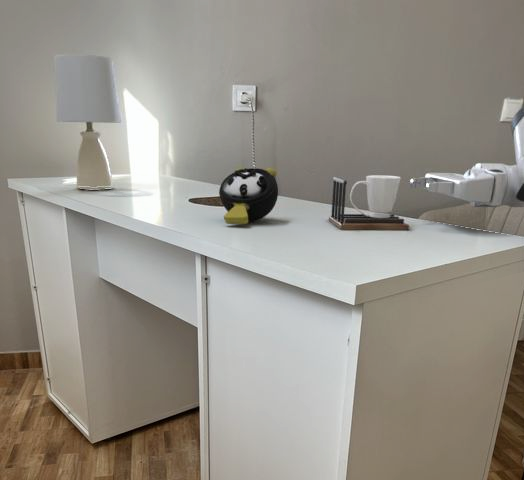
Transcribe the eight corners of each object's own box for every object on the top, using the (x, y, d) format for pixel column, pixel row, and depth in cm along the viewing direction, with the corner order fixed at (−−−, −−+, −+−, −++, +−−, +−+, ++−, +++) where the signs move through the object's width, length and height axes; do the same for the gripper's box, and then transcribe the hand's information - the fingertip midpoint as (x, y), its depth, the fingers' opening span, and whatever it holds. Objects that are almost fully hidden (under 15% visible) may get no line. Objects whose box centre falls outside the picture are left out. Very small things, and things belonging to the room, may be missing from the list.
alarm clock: (210, 239, 120) (200, 171, 120) (270, 236, 126) (260, 172, 126) (231, 222, 109) (219, 148, 109) (295, 220, 115) (284, 150, 116)
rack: (390, 220, 124) (395, 177, 120) (408, 230, 112) (414, 182, 109) (328, 220, 122) (331, 176, 119) (340, 229, 111) (344, 181, 108)
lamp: (128, 186, 185) (119, 62, 171) (122, 192, 168) (112, 55, 154) (70, 186, 183) (57, 60, 169) (58, 192, 166) (42, 52, 152)
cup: (398, 219, 113) (403, 178, 110) (349, 217, 114) (352, 177, 111) (394, 214, 120) (398, 175, 117) (347, 213, 121) (350, 174, 118)
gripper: (464, 166, 125) (404, 165, 124) (509, 173, 106) (439, 172, 105) (459, 195, 127) (401, 194, 126) (503, 207, 108) (435, 206, 107)
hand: (419, 184), depth 115 cm, fingers open, 8 cm apart
